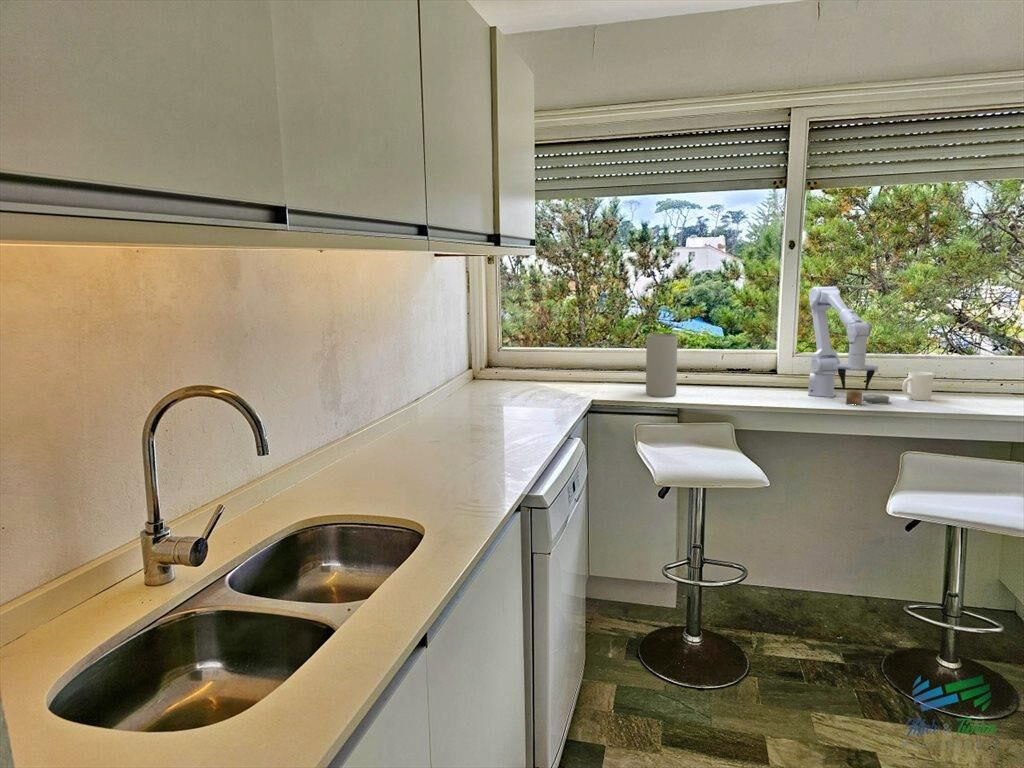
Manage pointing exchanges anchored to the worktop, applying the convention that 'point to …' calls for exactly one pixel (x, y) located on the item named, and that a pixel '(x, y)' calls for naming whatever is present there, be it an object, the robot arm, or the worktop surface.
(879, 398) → the slate pedestal
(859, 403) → the walnut cube
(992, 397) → the worktop surface
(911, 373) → the mug
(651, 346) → the cylinder vase
